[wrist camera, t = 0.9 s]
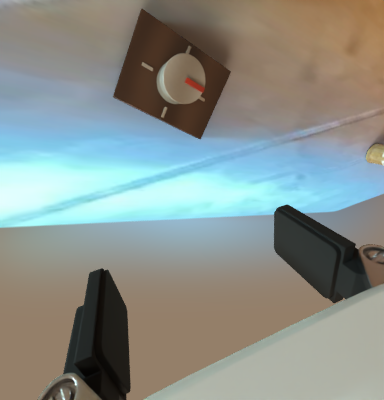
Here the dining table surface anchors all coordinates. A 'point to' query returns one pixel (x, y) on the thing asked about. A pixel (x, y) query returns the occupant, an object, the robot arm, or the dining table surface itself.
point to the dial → (181, 79)
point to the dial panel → (148, 70)
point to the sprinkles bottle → (376, 154)
